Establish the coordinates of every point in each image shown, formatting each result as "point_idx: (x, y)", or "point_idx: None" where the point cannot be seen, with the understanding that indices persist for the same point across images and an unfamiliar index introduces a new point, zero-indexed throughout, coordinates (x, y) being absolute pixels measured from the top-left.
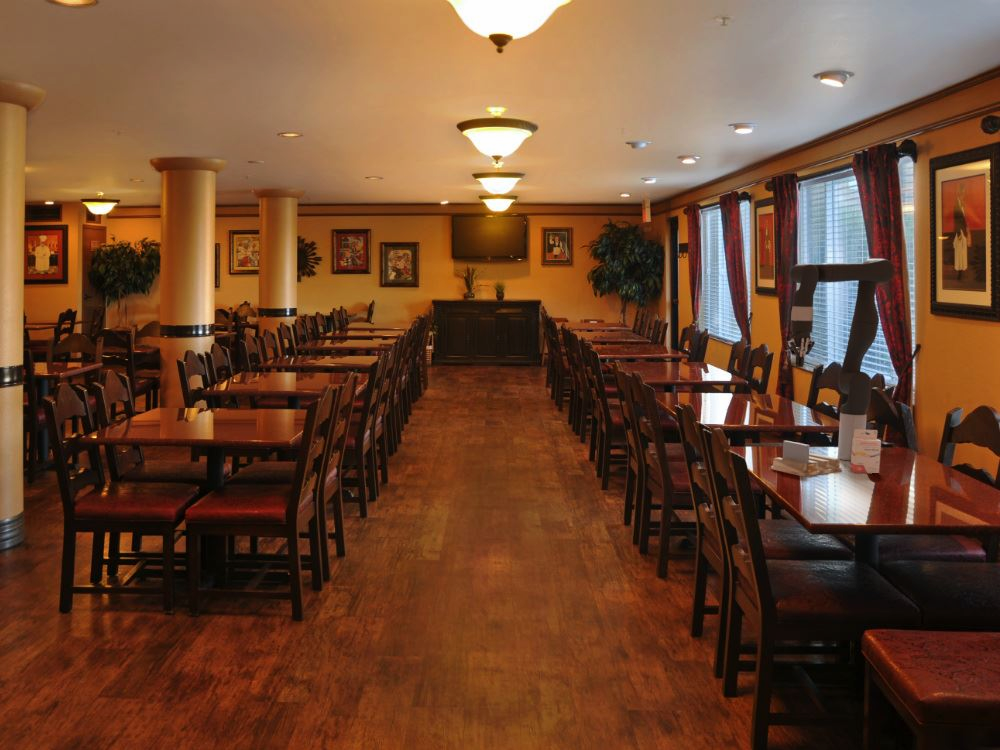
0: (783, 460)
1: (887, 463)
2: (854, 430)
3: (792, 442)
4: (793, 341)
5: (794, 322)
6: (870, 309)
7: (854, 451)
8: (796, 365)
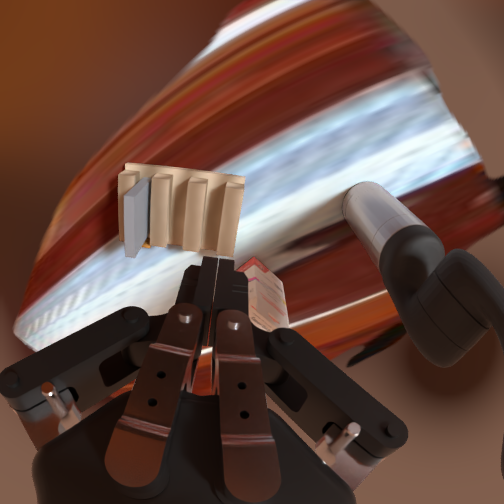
0: (118, 200)
1: (369, 264)
2: (256, 310)
3: (126, 219)
4: (54, 435)
5: None
6: None
7: None
8: (202, 263)
